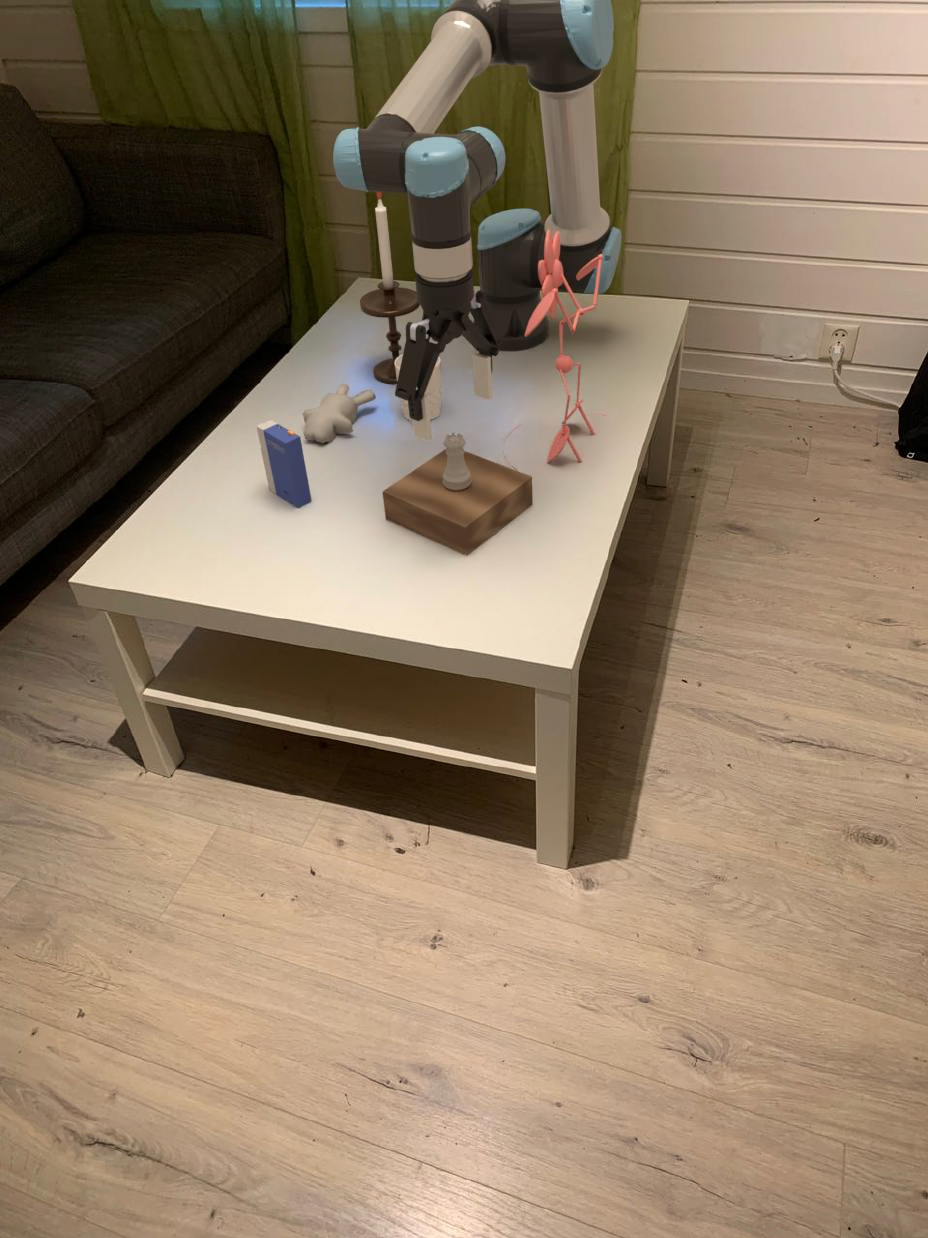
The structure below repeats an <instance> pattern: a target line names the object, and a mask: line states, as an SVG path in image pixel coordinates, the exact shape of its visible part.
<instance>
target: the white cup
mask: <svg viewBox="0 0 928 1238" xmlns="http://www.w3.org/2000/svg"><path fill="white" fill-rule="evenodd" d="M402 357H403V353H402V354H399V357H397V358H396V360H395V362H394V363H395V370H396V377H397V381H398V376H399V371H400V367H401V362H402ZM441 364H442V361H441V357H440V356H439V357H438V359H437V362H436V365H435V367H434V370H433V373H432V375H431V378H430V381H429V383H428V386H427V388H426V391H425V394H424V395H425V396H427V397H428V399H429V410H430V419H433V418H435V417H436V416H438V415H439V414H441V412H442V368H441V367H442V366H441ZM417 389H418V388H416V390H417ZM399 400H400V403H401V410H402V415H403V414H404V415H403V417H404V418H405V417H406V418H408V419H409V420H408V419H407V420H408V421H410V420H412V419H411V418H410V416H409V407H408V401H407V400H404V399H401V398H399ZM439 416H440V415H439ZM439 416H438V417H439ZM406 418H405V419H406ZM436 418H437V417H436ZM436 418H435V419H436ZM433 420H434V419H433Z"/></svg>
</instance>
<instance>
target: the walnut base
mask: <svg viewBox="0 0 928 1238" xmlns="http://www.w3.org/2000/svg"><path fill="white" fill-rule="evenodd" d="M446 450H447V448H446V447H445V449H443V450H442V451H440V452H438V454H436V455H434V456H433V457H431V458H429V460H427V461H425V462H424V463H422V464H421V465H420V466H418V467H416V468H415V469H413V470H412V471H410V473H408V474H406V475H405V476H403V477H401V478H400V479H399V480H397V481H395V482H394V483H392V485H390V486H389V487H387V488H386V489H384V490H382V499H383V509H384V517H385V520H387V521H389V522H392V523H393V524H396V525H398V526H400V527H403V528H405V529H406V530H409V531H411V532H414V533H416V534H418V535H421V536H422V537H425V538H427V539H429V540H432V541H434V542H436V543H438V544H440V545H443V546H445V547H448V549H449V548H450V549H452V550H453V551H455V552H458V553H460V554H463V555H465V556H469V555H470V554H471V553H473V551H475V550H476V549H477V548H479V547H481V546H482V545H483V544H484V543H485V542H486V541H487V540H489V539H491V538H492V537H493V536H494V535H495V534H497V533H498V532H499V531H500V530H502V529H503V528H505V527H506V526H507V525H508V524H509V523H511V522H512V521H513V520H515V519H516V518H517V517H518V516H520V515H521V514H522V513H523V512H524V511H526V510H527V509H529V508H530V507H531V506H532V505H533V476H531V475H530V474H529V475H528V474H526V473H523V472H521V471H519V470H517V469H516V470H515V469H514V468H511V467H508V466H505V465H502V464H500V463H498V462H495V461H494V460H493V461H492V460H490V459H487V458H484V457H482V456H478V455H476V454H474V453H471V452H469V451H466V450H465V453H464V461H465V465H466V466H467V468H468V470H469V471H470V473H471V479H472V482H471V484H470V485H469V486H468V487H467V488H466V489H463V490H459V491H453V490H449V489H447V488H446V487H445V486H444V485H443V482H442V481H443V477H442V476H443V473H444V471H445V468H446V467H447V454H446Z"/></svg>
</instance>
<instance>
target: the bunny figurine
mask: <svg viewBox="0 0 928 1238" xmlns="http://www.w3.org/2000/svg"><path fill="white" fill-rule="evenodd" d="M349 390H350V386H349V385H348V384H345V383H342V384H338V386H337V388H336V391H335V392H327V394H325V395H324V396H323V398H322V399H321V401H320V404H319V407H315V408H310V409H309V408H308V409H306V410H304V411H303V412H302V417H303V421H304V423H305V425H304V429H303V431H302V433H303V437H304V439H305V440H309V441H315V442H317V443H322V444H325V442H326V443H332V442H333V441H334V440H335V439H336V437H337V436H336V435H338V434H351V433H352V432H354V428H353V423H354V422H355V420H356V419H357V417H358V416H357V414H358V409H359V407H360V406H362V405H365V404H367V403H369V402H373V401H374V400H376V394H375V393H374V391H373V390H372V389H365V390H362V391H361V392H359V393H358V394H356V395H355V396H353V397H351V396H349V395H348V392H349Z"/></svg>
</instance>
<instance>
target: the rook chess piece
mask: <svg viewBox="0 0 928 1238" xmlns="http://www.w3.org/2000/svg"><path fill="white" fill-rule="evenodd" d="M466 443H467V442H466V440H465V438H464V436H463V435H462V434H461V433H460V432H457V433H456V434H455V432H451V434H446V437H445V440H443V446H444V447H445V449H446V448H447V450H446V454H447V467H446V468H445V471H444V473H443V476H442V477H443V481H442V482H443V485H444V486H445V487H446V488H447V489H449V490H453V491H459V490H463V489H466V488H467V487H468V486H469V485H470V484H471V482H472V479H471V473H470V471H469V470H468V468H467V466H466V465H465V461H464V453H465V451H466V450H465V448H464V447H465V446H466Z"/></svg>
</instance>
